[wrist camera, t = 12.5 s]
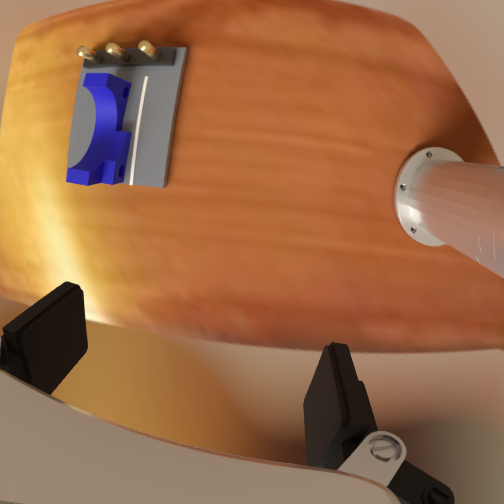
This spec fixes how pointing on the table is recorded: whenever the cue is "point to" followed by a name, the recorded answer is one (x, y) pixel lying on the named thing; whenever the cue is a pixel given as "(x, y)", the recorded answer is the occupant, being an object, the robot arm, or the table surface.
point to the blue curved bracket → (105, 133)
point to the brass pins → (127, 56)
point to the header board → (136, 118)
